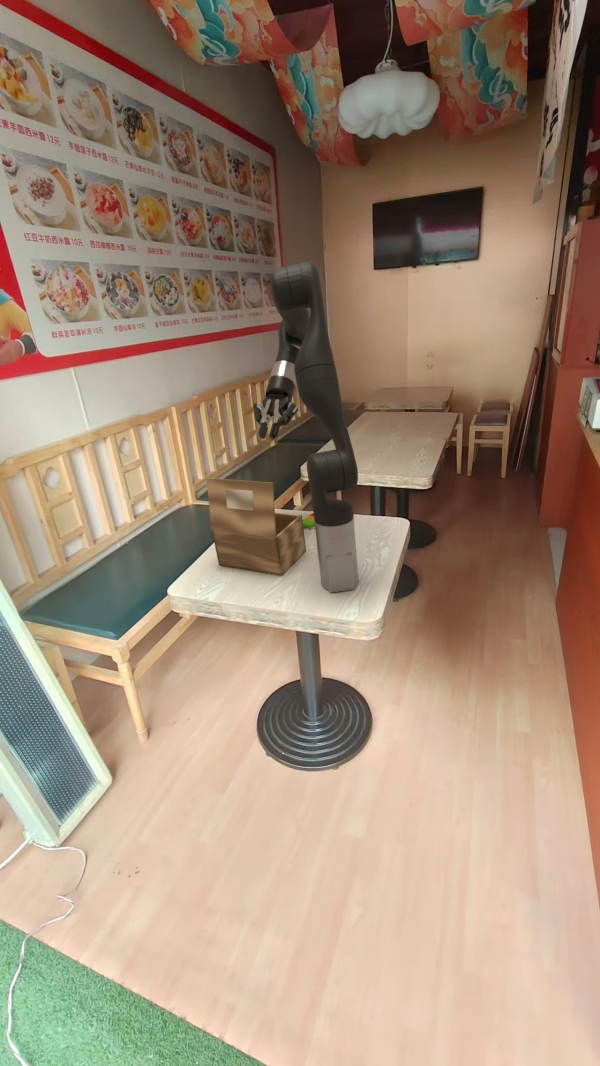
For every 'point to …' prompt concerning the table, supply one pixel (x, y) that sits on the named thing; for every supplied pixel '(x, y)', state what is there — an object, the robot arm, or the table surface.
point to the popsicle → (309, 521)
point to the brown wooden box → (263, 547)
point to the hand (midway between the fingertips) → (266, 437)
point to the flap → (242, 506)
